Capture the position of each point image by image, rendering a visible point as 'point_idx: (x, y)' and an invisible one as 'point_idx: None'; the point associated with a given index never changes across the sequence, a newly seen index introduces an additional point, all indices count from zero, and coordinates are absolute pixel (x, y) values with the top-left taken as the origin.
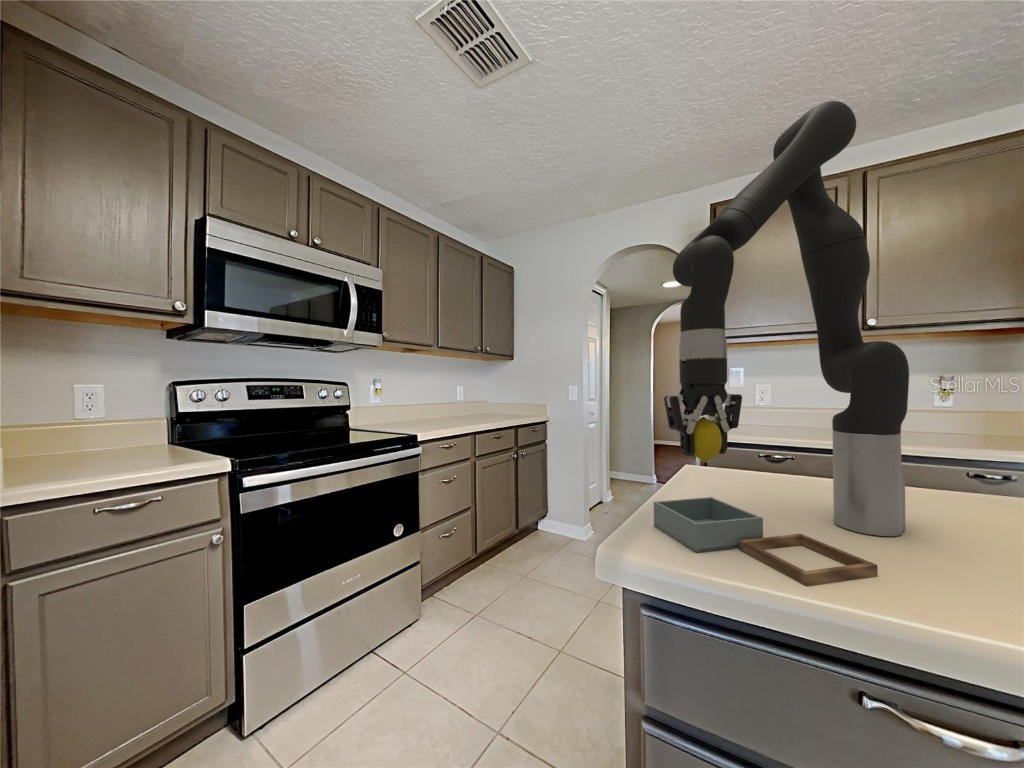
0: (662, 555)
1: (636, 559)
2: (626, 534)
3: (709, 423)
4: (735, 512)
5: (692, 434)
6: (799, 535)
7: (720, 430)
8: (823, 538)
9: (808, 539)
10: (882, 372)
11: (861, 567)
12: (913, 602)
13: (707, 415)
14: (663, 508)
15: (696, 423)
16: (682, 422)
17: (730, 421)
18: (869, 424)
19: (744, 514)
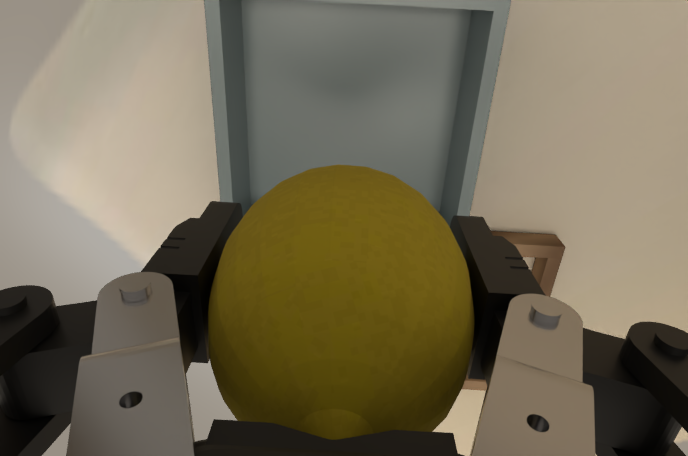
0: (150, 195)
1: (75, 196)
2: (99, 27)
3: None
4: (462, 157)
5: (199, 357)
6: (548, 254)
7: (486, 371)
8: (646, 229)
9: (542, 276)
10: None
11: (480, 389)
12: (460, 430)
13: (490, 390)
14: (210, 64)
15: (236, 410)
16: (41, 452)
17: (630, 443)
18: None
19: (457, 199)
